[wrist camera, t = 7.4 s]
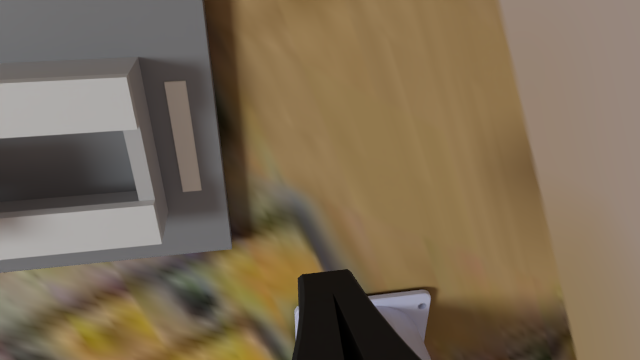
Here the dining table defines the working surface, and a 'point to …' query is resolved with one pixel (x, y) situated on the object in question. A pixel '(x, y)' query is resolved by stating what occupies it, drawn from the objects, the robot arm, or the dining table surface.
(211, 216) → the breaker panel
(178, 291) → the dining table surface
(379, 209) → the dining table surface
